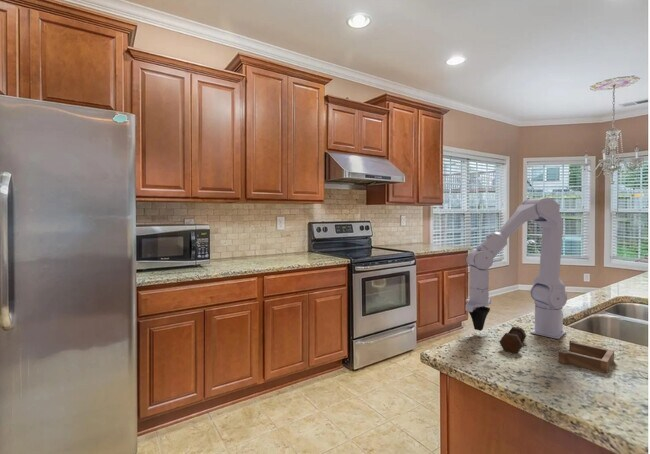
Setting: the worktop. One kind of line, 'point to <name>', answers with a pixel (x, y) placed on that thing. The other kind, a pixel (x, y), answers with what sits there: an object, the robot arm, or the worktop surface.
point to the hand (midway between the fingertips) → (478, 329)
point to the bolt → (513, 340)
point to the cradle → (587, 356)
